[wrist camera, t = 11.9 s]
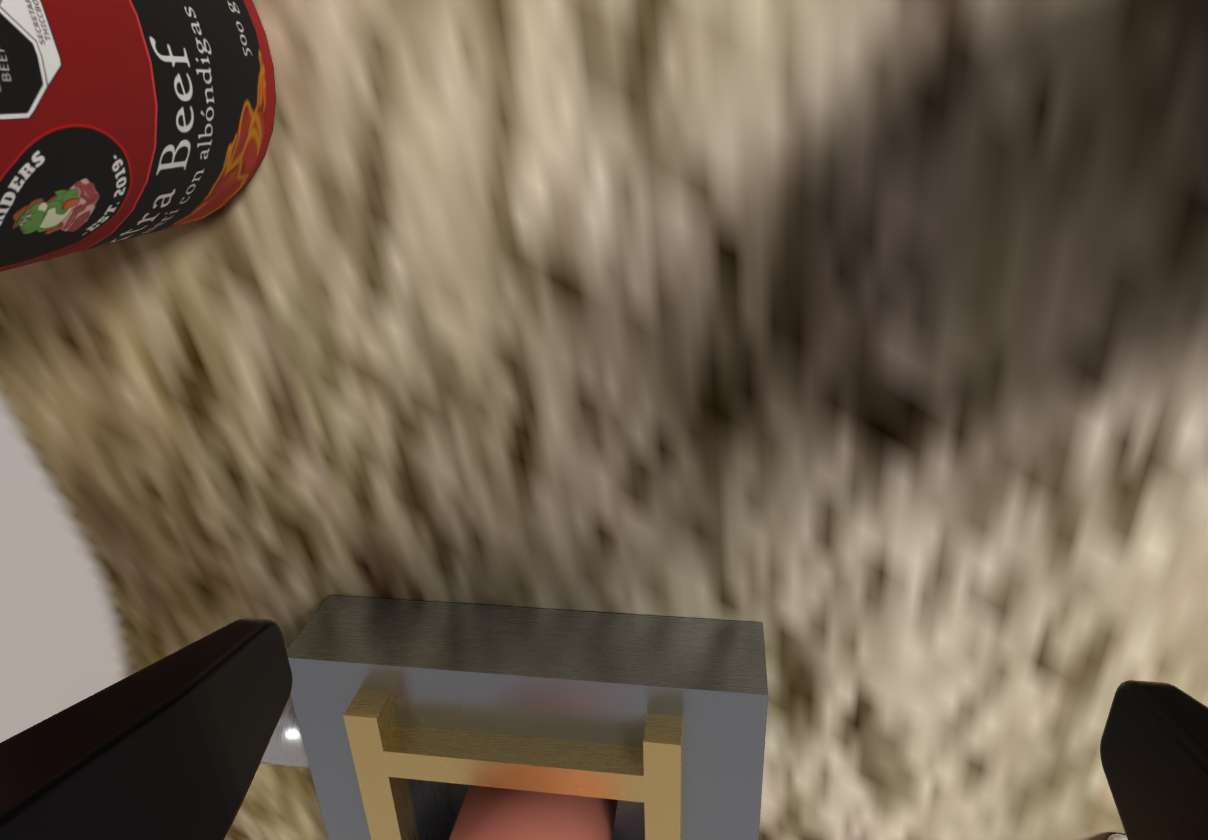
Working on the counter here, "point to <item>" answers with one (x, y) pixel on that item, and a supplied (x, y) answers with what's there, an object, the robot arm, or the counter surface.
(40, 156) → the canned food
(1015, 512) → the counter surface
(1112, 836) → the soap bottle
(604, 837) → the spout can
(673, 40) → the counter surface
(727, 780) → the grey and gold frame
